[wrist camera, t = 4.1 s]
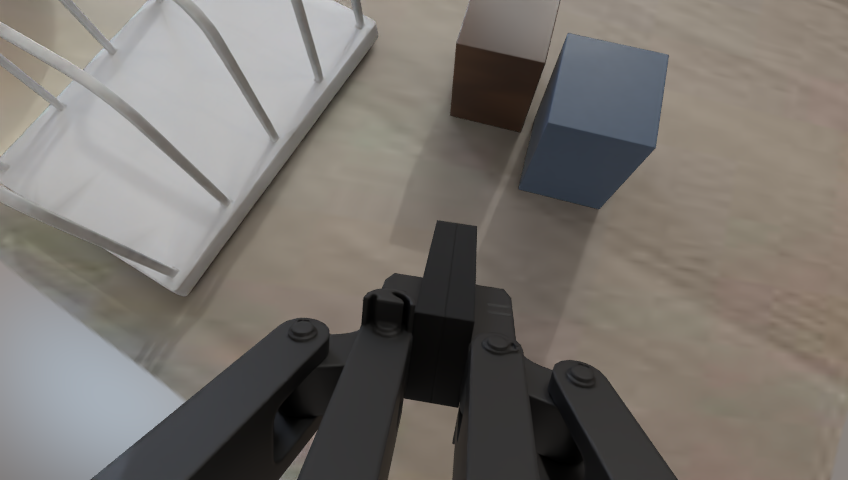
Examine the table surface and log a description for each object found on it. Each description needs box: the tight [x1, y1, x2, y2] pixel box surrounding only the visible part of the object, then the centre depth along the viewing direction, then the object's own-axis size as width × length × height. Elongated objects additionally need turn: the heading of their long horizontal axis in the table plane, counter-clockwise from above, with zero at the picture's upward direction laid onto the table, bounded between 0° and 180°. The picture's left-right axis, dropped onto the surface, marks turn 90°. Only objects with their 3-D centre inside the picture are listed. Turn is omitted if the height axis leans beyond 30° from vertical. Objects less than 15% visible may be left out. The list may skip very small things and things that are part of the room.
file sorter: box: [0, 0, 378, 296], centre depth 30 cm, size 25×17×16 cm
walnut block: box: [450, 0, 560, 132], centre depth 34 cm, size 6×6×8 cm
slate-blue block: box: [518, 33, 669, 209], centre depth 32 cm, size 6×6×9 cm
